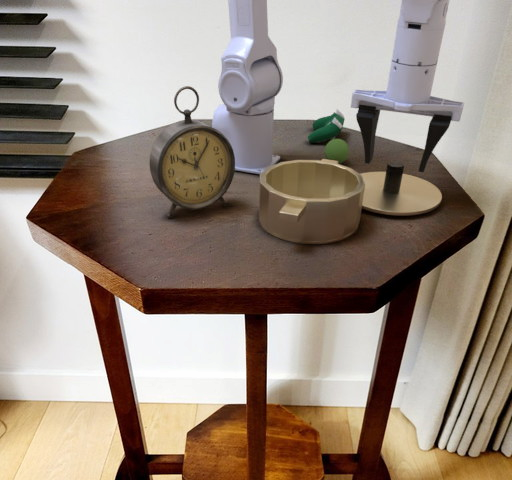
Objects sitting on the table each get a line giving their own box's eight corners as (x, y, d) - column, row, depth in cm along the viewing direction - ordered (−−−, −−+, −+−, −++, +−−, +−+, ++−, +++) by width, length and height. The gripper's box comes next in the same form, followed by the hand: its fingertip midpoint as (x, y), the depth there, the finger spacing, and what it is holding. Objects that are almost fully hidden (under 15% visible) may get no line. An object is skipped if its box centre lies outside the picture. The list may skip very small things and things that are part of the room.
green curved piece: (318, 155, 99) (344, 133, 96) (305, 138, 98) (331, 116, 94) (323, 138, 106) (348, 118, 103) (311, 123, 105) (336, 102, 101)
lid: (329, 208, 77) (333, 174, 74) (353, 172, 88) (357, 141, 85) (433, 227, 73) (442, 191, 70) (445, 187, 84) (453, 154, 81)
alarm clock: (164, 224, 73) (151, 96, 63) (151, 208, 77) (136, 85, 66) (237, 209, 77) (236, 86, 67) (221, 194, 81) (218, 76, 70)
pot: (236, 241, 70) (235, 198, 66) (284, 186, 83) (286, 148, 80) (339, 262, 66) (344, 218, 62) (371, 201, 80) (377, 161, 76)
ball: (320, 165, 90) (322, 141, 88) (327, 157, 93) (329, 134, 91) (344, 169, 89) (347, 145, 87) (349, 161, 92) (352, 137, 90)
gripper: (351, 61, 68) (338, 167, 77) (470, 74, 64) (443, 183, 73) (363, 50, 73) (350, 150, 82) (474, 62, 70) (448, 165, 78)
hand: (394, 165), depth 78 cm, fingers open, 7 cm apart
